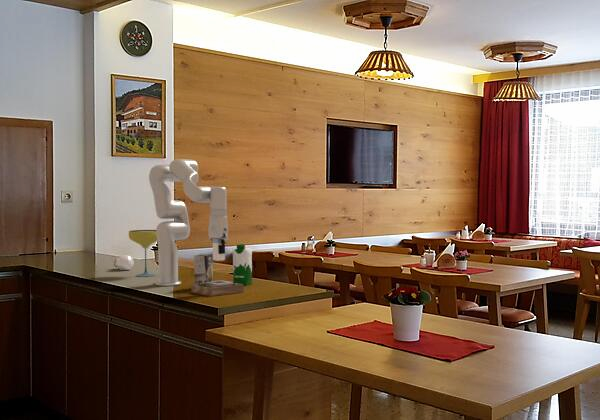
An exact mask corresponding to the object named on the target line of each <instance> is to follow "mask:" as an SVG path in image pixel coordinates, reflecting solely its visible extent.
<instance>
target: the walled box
mask: <svg viewBox="0 0 600 420" xmlns="http://www.w3.org/2000/svg"><path fill="white" fill-rule="evenodd" d="M190 287H191V293H193V294H198V295H203V296H207V297H216V296H217V295H218V296H224V295H225V294H226V295H232V294H238V293H239V294H240V293H244V292H245V288H244V287H245V286H244V285H243V284H237V283H233V286H226V287H217V288H207V287H206V283H204V284H195V283H194V284H191V286H190ZM218 296H217V297H218Z"/></svg>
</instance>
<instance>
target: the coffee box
mask: <svg viewBox="0 0 600 420" xmlns="http://www.w3.org/2000/svg"><path fill="white" fill-rule="evenodd" d="M213 263H214V260H213V253H212V254H211V253H210V254H209V253H206V254H197V255H194V285H195V284H204V283H206V282H211V281H214V280H213V279H214V278H213V277H214V276H213V274H214V273H213V269H214V268H213Z"/></svg>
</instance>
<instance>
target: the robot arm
mask: <svg viewBox="0 0 600 420" xmlns="http://www.w3.org/2000/svg"><path fill="white" fill-rule="evenodd" d="M198 172H199V165H198V163H197V162H196V161H195V160H194V159H189V158H188V159H187V158H185V159H184V158H183V159H182V158H176V159H174V160H172V161H171V162H169V164H158V165H157V164H156V165H154V166H153V167H152V168H151V169H150V171H149V174H148V181H149V185H150V188H151V190H152V194H153V195H152V196H153V201H154V207H155V213H156V217H158V219H160V220H161V219H162V220H167V221H162V222H159V223H158V224H157V226H156V228H155V230H156V235H157V239H158V241H157V248H158V249H157V250H158V276H157V275H156V278H157V279H158V281H156V282H155V285H156V286H159V287H160V286H162V287H163V286H164V287H168V286H169V287H171V286H179V285H181V284H182V281H181V280H179V253H178V246H177V244H176V242H175V241H177V240H178V241H179V240H185V239H188V238H189V236H190V234H191V227H190V221H189V220H190V219H189V214H188V208H187V206H186V203H185V202H184V201H182V200H179V199H172V194H171V190H170V188H169V187H168V185H167V184H166V183H165V182H169V183H175V182H176V183H177V182H178V183H179V182H181V183H182V185H183V187H182V189H183V192H184V194H185V196H187V198H188V199H190V200H191V201H192V202H194V203H197V204H198V203H201V204H203V203H209V207H210V208H209V210H210V211H209V213H210V214H209V221H208V233H207V234H208V238H209V239H210V240H211V244H212V245H213V243H212V238H218V239H219V244H220V245H219V254H225V255H226V242H228V240H229V238H230V237H229V224H228V223H229V222H228V216H227V215H228V213H227V212H228V211H227V210H228V206H227V205H228V203H227V201H228V198H227V197H228V196H227V194H228V193H227V191H228V190H227V188H226V187H225V186H206V185H205V186H200V185H199V186H198V185H197V183H198V182H199V179H200V176H199V173H198ZM168 220H170V221H168ZM173 220H174V221H173ZM221 240H222V241H221Z"/></svg>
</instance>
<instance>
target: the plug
mask: <svg viewBox="0 0 600 420" xmlns="http://www.w3.org/2000/svg"><path fill="white" fill-rule="evenodd" d="M221 241H222V240H221ZM212 243H213V244H212ZM211 244H212V254H213V261H217V262H218V261H225V260H226V253H225V254H219V245H220V244H219V239H218V238H212V241H211Z"/></svg>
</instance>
